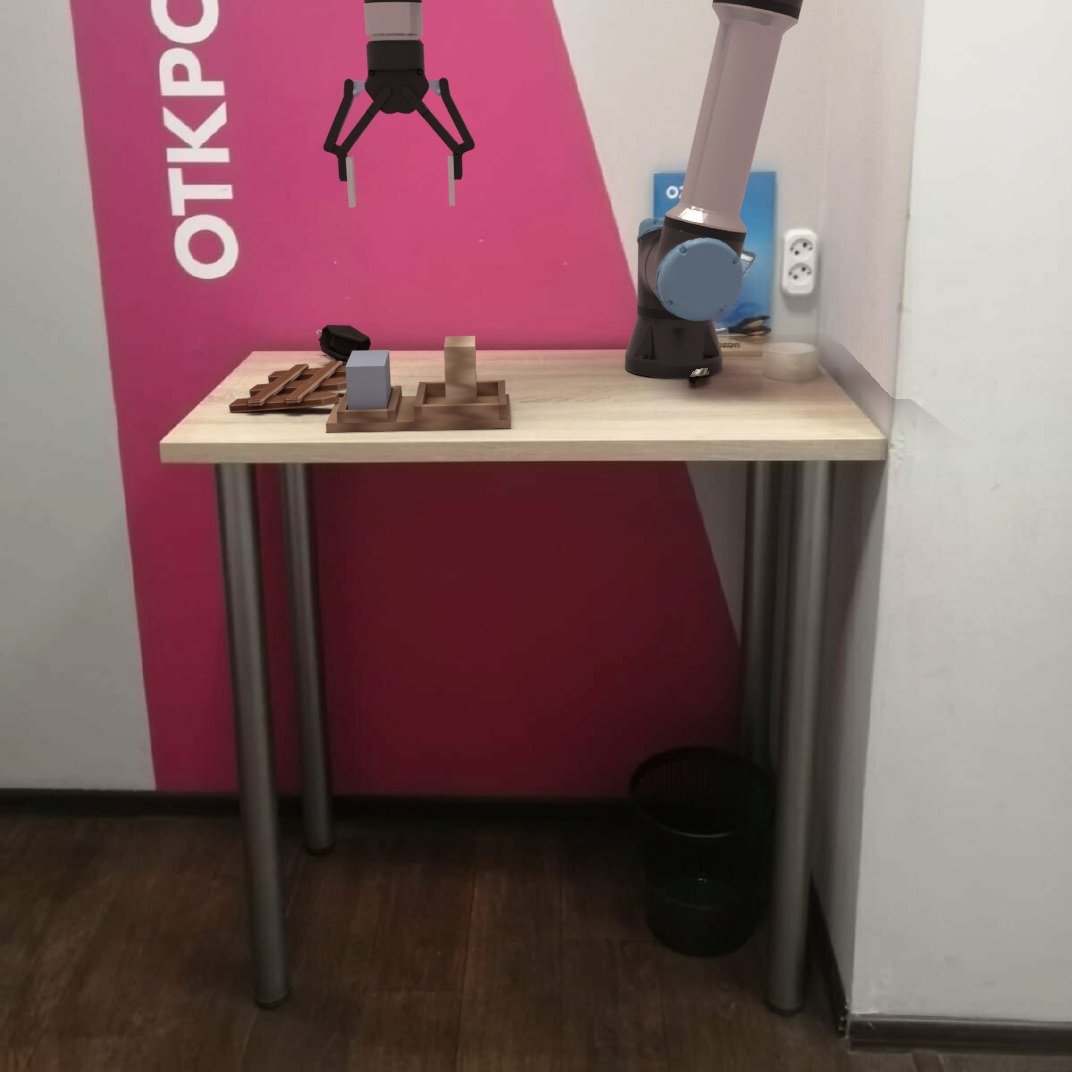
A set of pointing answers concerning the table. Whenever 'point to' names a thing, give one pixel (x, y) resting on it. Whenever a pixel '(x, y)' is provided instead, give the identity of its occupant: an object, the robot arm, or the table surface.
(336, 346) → the toy
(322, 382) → the decorative fence
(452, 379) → the wooden block
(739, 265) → the robot arm
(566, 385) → the table surface
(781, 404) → the table surface
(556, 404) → the table surface
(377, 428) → the tray
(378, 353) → the grey rectangular block
